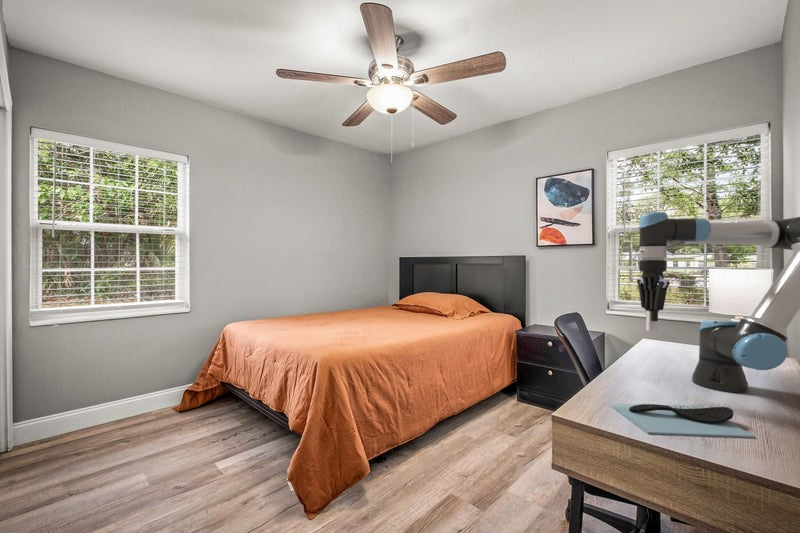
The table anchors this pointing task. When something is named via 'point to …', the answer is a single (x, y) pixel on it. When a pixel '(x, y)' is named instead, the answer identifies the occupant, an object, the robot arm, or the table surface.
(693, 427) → the plate
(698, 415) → the hairbrush
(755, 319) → the robot arm
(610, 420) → the table surface
